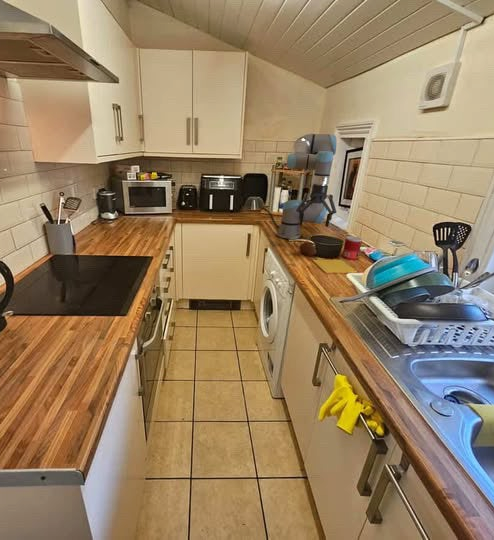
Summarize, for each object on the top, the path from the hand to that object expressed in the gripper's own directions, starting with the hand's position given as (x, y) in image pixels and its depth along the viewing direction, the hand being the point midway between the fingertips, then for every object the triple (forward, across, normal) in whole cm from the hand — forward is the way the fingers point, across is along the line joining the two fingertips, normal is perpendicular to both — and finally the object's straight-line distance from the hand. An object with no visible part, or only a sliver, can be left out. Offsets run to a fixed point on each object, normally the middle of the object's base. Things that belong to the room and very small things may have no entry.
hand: (313, 225), depth 158 cm
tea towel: (+16, +9, -15) cm, 24 cm away
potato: (+17, -1, +1) cm, 17 cm away
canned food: (+17, +22, -1) cm, 28 cm away
